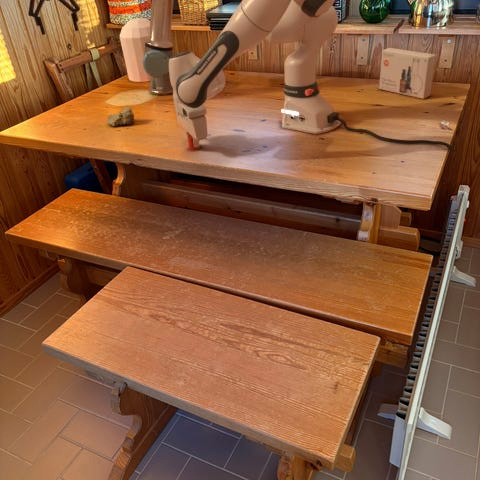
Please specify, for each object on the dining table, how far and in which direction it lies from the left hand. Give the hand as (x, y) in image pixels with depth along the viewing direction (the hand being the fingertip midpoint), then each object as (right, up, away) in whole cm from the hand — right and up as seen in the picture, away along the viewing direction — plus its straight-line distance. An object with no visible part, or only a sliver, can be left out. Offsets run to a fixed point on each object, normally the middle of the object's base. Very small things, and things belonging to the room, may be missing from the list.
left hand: (60, 32), depth 191 cm
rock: (+26, -38, -3) cm, 47 cm away
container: (+26, +1, +53) cm, 59 cm away
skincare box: (+141, -26, -2) cm, 143 cm away
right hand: (+58, -53, -32) cm, 85 cm away
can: (+58, -54, -31) cm, 85 cm away
